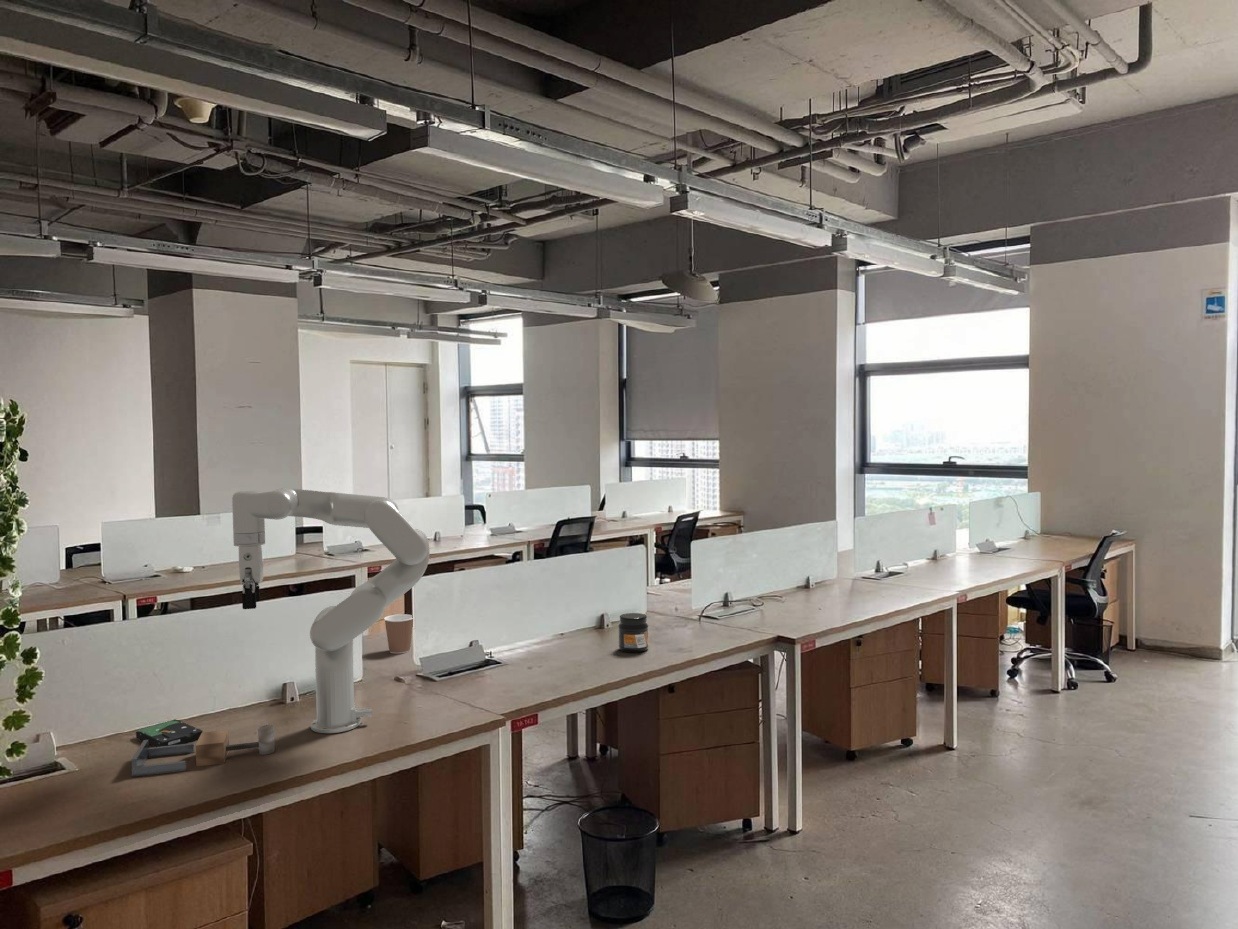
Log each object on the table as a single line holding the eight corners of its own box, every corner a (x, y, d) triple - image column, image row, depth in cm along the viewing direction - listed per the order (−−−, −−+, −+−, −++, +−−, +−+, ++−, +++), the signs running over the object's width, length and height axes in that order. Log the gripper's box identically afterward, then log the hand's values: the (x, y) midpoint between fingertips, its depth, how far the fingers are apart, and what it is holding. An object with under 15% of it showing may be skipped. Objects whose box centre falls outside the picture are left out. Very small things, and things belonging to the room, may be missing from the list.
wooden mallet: (276, 744, 219) (275, 720, 219) (273, 757, 211) (272, 732, 210) (202, 753, 214) (201, 728, 214) (196, 766, 206) (195, 741, 205)
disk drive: (204, 741, 224) (175, 728, 233) (203, 730, 224) (175, 718, 233) (162, 753, 216) (134, 740, 225) (162, 742, 216) (134, 729, 225)
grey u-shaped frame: (194, 751, 215) (193, 735, 215) (185, 770, 203) (184, 753, 203) (144, 756, 212) (143, 740, 212) (132, 777, 200) (131, 759, 200)
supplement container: (645, 654, 302) (644, 619, 301) (615, 652, 304) (614, 618, 304) (651, 646, 312) (650, 613, 311) (622, 645, 314) (621, 612, 314)
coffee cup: (406, 646, 317) (406, 613, 316) (420, 651, 309) (419, 617, 308) (379, 651, 310) (379, 617, 309) (392, 656, 302) (391, 622, 302)
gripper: (262, 542, 219) (264, 610, 220) (267, 534, 236) (269, 597, 236) (229, 544, 217) (231, 612, 218) (237, 535, 233) (239, 599, 234)
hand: (251, 605), depth 227 cm, fingers open, 9 cm apart
